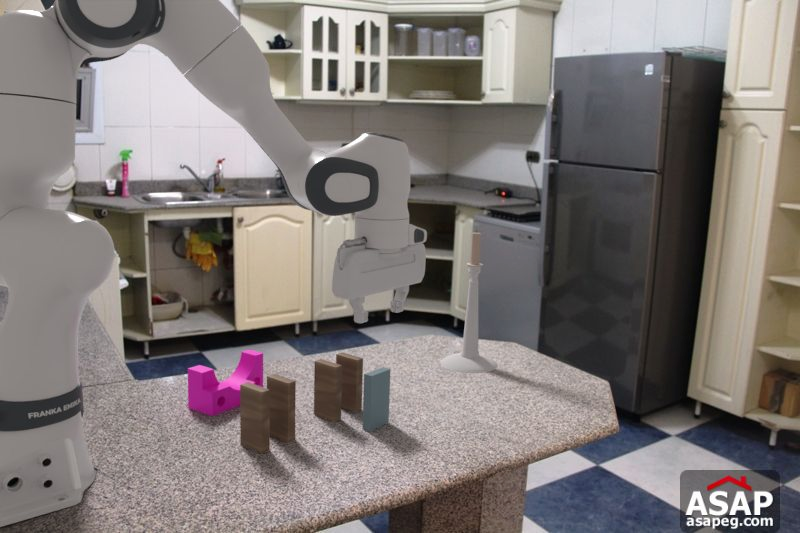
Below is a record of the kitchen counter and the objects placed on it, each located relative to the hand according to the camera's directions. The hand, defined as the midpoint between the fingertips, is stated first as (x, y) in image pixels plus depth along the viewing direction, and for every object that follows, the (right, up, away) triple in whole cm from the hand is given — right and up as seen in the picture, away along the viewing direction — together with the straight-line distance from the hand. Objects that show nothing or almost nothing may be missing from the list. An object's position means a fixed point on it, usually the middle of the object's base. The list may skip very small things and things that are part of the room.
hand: (379, 316), depth 120 cm
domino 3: (-9, -18, +7) cm, 22 cm away
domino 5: (-1, -19, +3) cm, 20 cm away
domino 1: (-19, -20, -6) cm, 29 cm away
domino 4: (-6, -18, +11) cm, 22 cm away
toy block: (-28, -17, +14) cm, 35 cm away
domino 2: (-16, -20, -2) cm, 25 cm away
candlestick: (+19, -14, +37) cm, 44 cm away
